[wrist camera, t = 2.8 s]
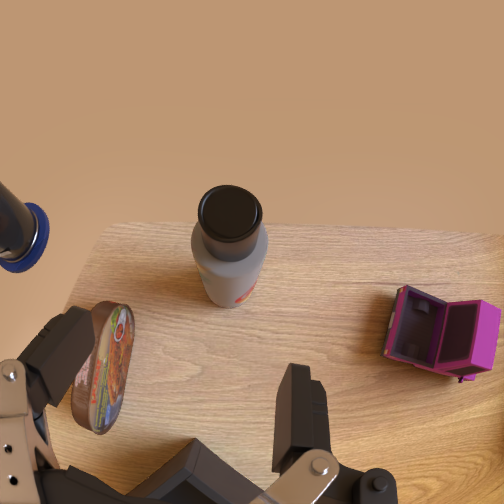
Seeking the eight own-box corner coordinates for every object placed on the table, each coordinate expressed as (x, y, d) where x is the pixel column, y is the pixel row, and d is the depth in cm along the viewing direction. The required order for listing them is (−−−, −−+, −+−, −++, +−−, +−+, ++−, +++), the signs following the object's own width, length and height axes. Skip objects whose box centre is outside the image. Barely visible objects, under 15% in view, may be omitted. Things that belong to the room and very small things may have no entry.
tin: (118, 427, 30) (90, 444, 22) (96, 419, 29) (64, 432, 22) (140, 311, 34) (116, 298, 26) (117, 304, 34) (89, 290, 26)
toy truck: (456, 386, 34) (503, 387, 24) (373, 362, 34) (417, 362, 25) (470, 317, 37) (516, 305, 28) (394, 285, 38) (437, 263, 28)
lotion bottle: (262, 279, 37) (297, 198, 18) (235, 318, 35) (243, 276, 16) (223, 253, 38) (219, 152, 19) (195, 290, 36) (160, 220, 17)
